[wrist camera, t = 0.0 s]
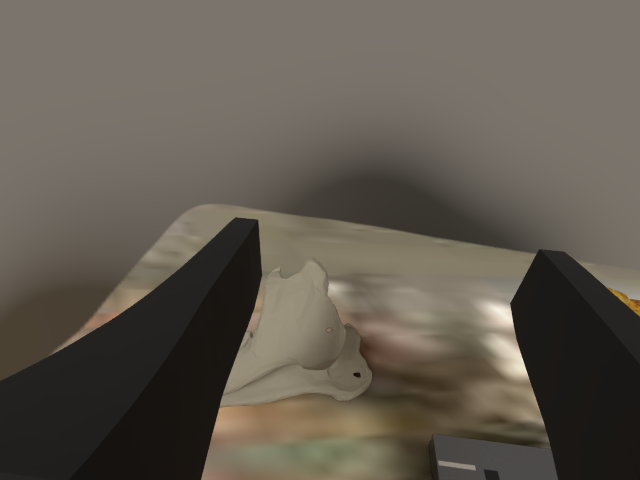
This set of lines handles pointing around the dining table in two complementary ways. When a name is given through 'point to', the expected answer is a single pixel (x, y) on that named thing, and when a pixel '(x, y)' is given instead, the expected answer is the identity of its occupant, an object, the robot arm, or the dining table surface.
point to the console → (488, 460)
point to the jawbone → (297, 345)
